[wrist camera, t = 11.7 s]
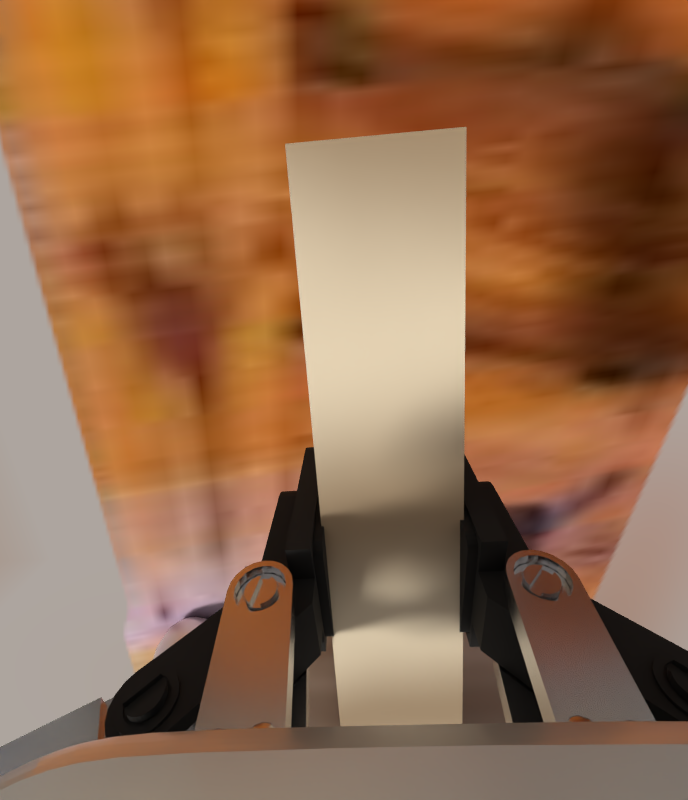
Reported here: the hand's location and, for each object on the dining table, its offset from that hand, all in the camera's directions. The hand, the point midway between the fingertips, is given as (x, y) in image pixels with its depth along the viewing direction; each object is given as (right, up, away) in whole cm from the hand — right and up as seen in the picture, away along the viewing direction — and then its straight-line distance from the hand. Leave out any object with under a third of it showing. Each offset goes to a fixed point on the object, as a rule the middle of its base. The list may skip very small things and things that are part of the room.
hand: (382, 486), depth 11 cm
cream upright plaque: (0, 0, +2) cm, 2 cm away
